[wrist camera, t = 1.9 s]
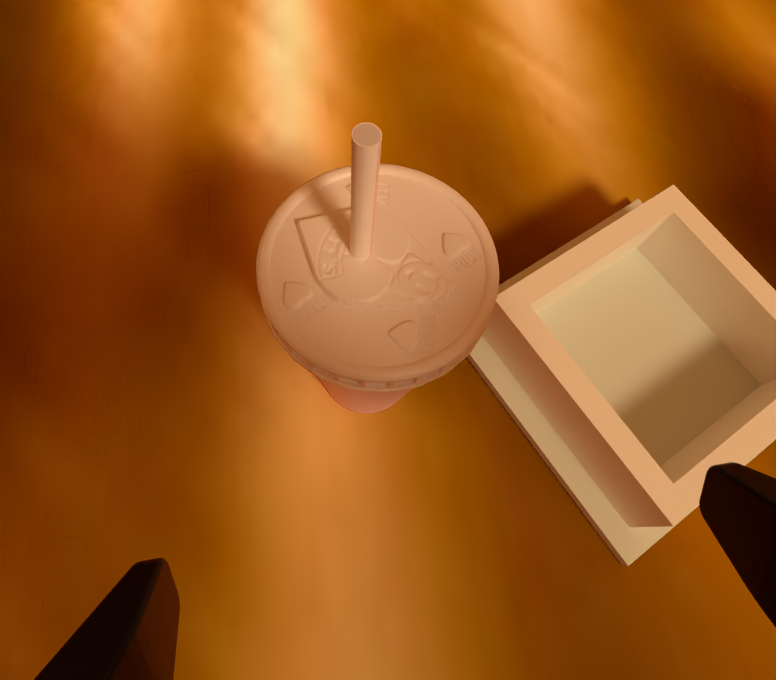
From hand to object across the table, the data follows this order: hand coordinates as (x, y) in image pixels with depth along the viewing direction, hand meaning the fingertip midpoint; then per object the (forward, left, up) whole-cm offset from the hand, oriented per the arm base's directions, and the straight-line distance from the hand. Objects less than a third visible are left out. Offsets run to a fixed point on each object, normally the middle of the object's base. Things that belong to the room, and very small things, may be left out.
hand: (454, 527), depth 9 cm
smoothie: (+6, -3, -13) cm, 14 cm away
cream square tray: (0, -13, -13) cm, 18 cm away
